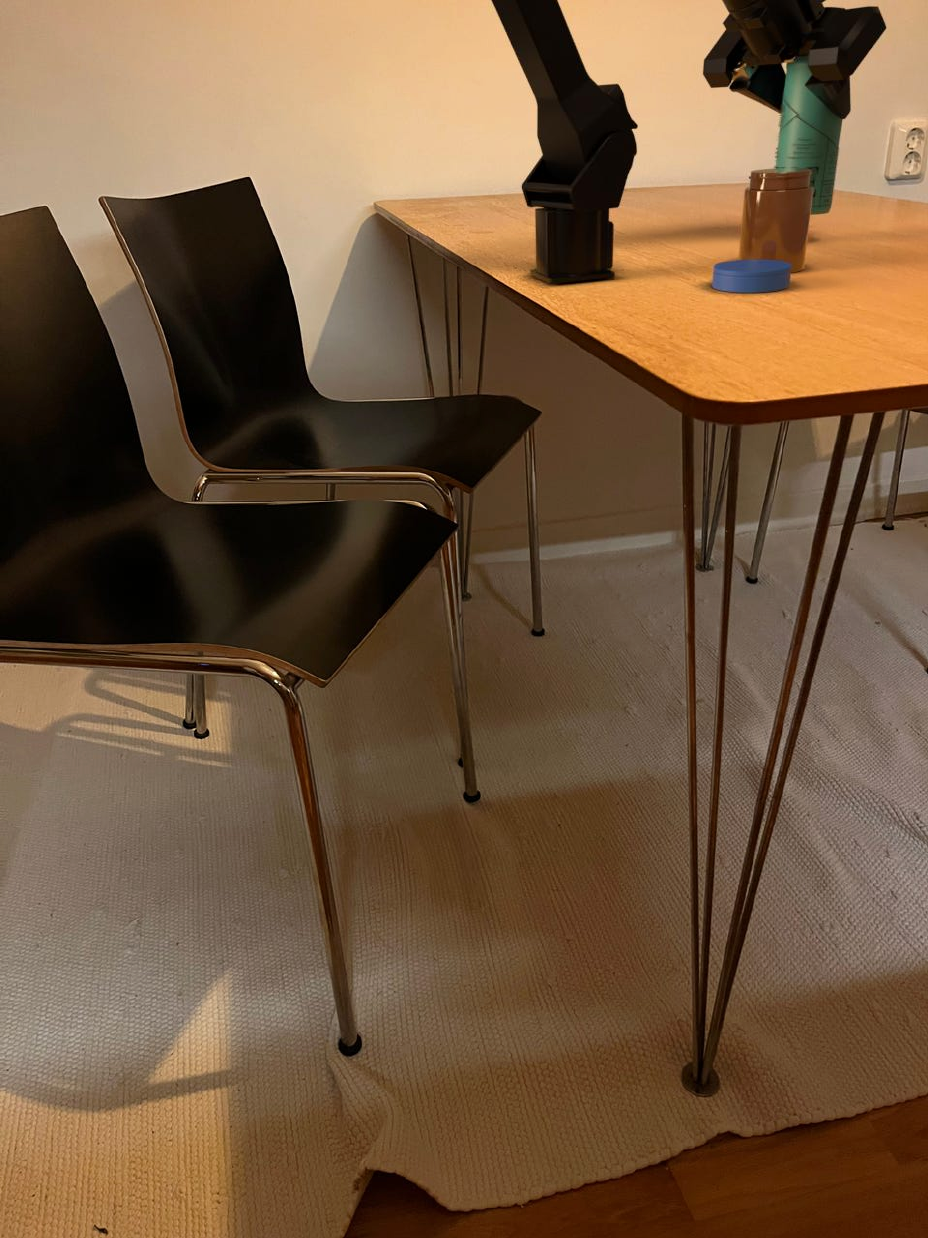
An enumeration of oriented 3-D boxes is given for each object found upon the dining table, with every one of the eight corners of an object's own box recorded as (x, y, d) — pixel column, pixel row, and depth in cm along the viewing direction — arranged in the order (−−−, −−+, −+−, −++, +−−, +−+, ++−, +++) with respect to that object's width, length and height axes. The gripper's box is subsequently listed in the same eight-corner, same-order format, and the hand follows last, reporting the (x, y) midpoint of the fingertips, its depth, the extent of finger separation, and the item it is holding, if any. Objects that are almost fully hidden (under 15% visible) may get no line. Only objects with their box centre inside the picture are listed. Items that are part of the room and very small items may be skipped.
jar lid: (698, 283, 82) (699, 263, 81) (763, 276, 83) (764, 256, 83) (736, 295, 77) (737, 274, 76) (804, 287, 78) (807, 266, 77)
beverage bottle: (822, 222, 102) (851, 8, 93) (836, 229, 97) (869, 1, 87) (761, 224, 103) (784, 12, 93) (773, 231, 97) (798, 5, 88)
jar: (758, 276, 84) (768, 174, 80) (725, 267, 89) (733, 171, 85) (817, 270, 85) (829, 169, 81) (781, 261, 90) (791, 166, 86)
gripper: (892, -109, 78) (949, 43, 88) (735, -71, 92) (799, 57, 102) (812, 1, 78) (878, 140, 88) (668, 22, 93) (738, 140, 103)
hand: (821, 115), depth 95 cm, fingers closed on beverage bottle, 6 cm apart
